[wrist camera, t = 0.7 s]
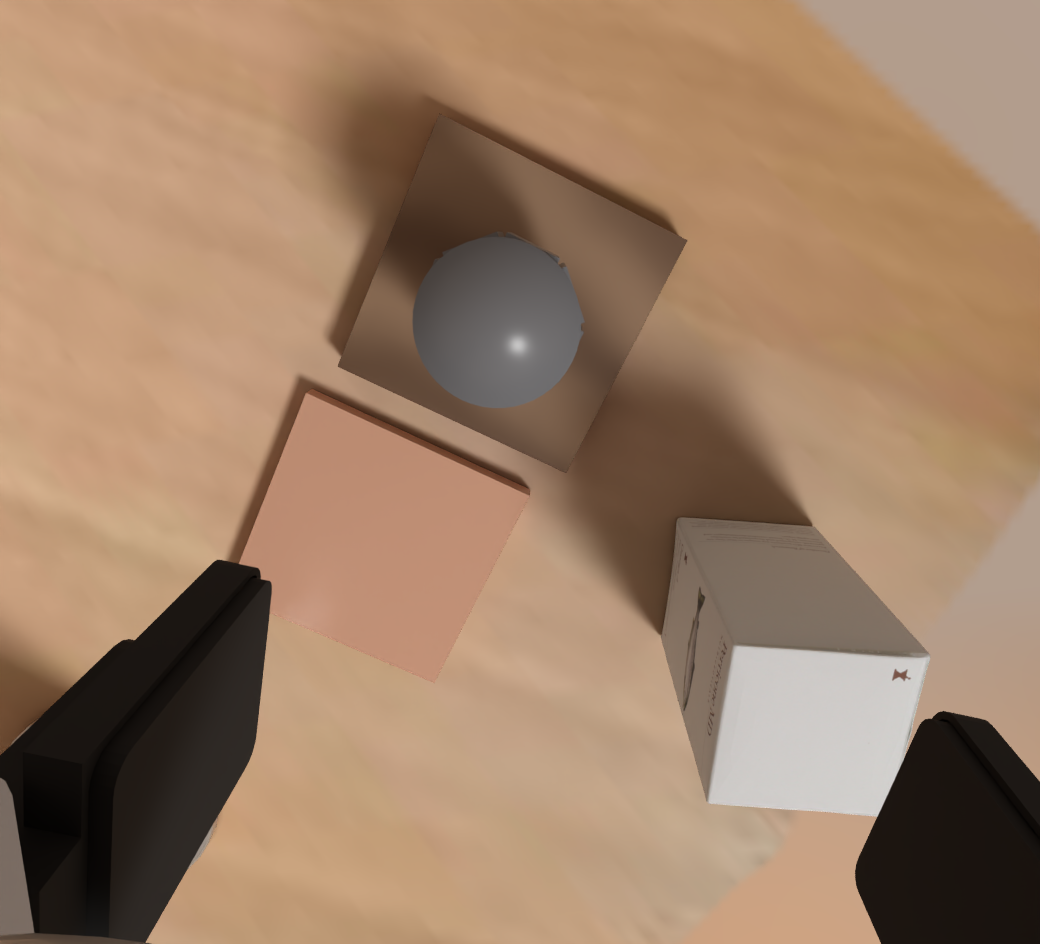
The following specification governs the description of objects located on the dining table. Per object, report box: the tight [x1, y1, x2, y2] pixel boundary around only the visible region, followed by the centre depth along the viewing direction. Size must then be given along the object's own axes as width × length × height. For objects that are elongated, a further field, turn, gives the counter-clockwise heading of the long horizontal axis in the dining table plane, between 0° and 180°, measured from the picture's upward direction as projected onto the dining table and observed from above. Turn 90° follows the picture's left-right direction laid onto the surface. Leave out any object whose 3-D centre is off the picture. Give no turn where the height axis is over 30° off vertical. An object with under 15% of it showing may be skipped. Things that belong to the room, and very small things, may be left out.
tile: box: [239, 389, 530, 683], centre depth 39 cm, size 12×12×1 cm
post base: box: [338, 113, 687, 473], centre depth 32 cm, size 12×12×8 cm
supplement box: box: [661, 517, 930, 817], centre depth 34 cm, size 7×7×13 cm
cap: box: [412, 232, 585, 408], centre depth 29 cm, size 6×6×5 cm
